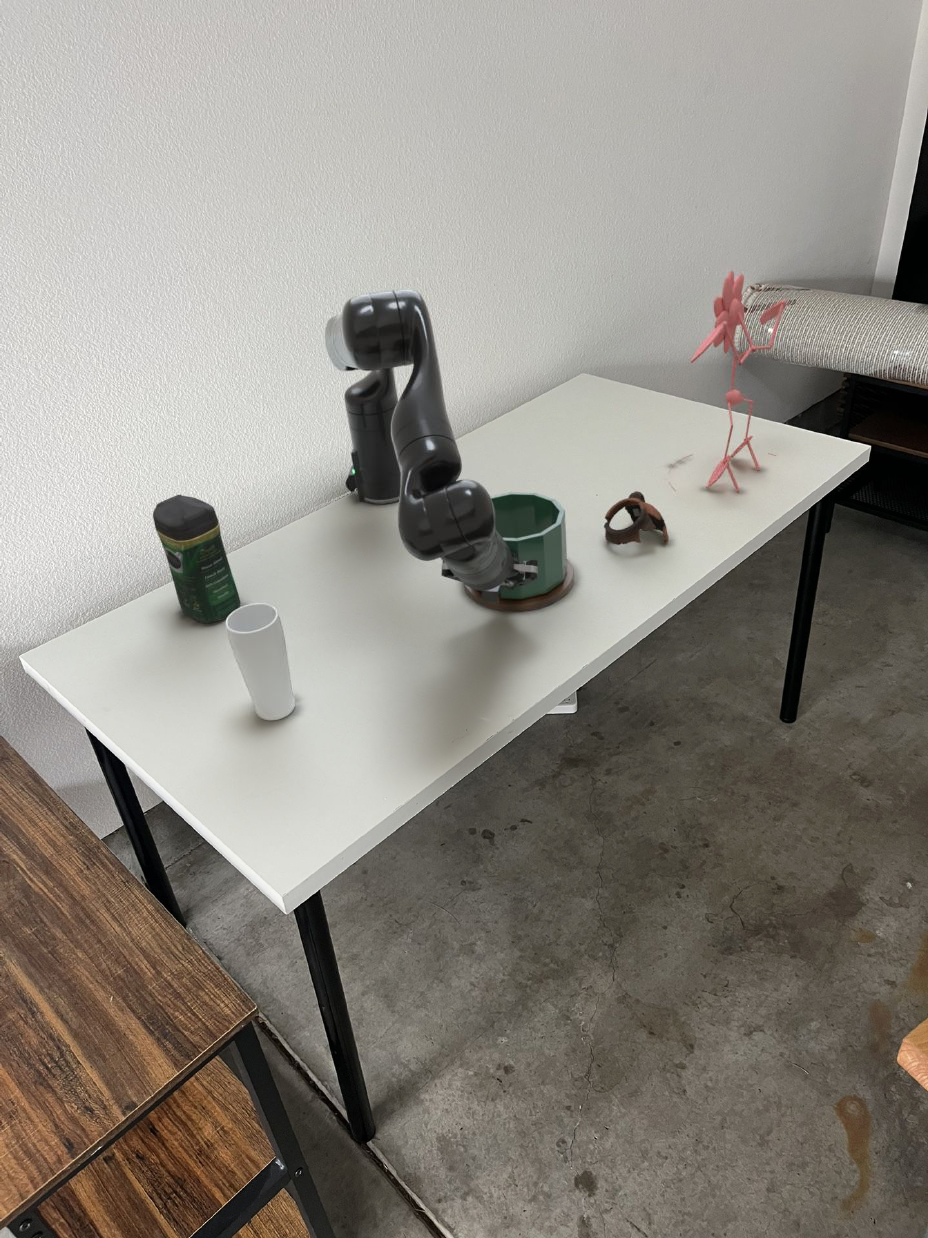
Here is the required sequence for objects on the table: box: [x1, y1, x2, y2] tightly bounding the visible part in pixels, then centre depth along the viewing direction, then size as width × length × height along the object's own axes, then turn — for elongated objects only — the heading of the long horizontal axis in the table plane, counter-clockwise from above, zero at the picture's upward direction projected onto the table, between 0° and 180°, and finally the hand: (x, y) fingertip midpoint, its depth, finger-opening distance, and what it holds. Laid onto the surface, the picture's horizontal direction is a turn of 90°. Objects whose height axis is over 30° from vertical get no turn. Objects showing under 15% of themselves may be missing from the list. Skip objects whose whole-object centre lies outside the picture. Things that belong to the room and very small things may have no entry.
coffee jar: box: [152, 494, 242, 624], centre depth 144 cm, size 10×8×19 cm
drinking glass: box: [224, 602, 296, 721], centre depth 123 cm, size 7×7×15 cm
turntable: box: [463, 558, 575, 613], centre depth 147 cm, size 17×17×1 cm
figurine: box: [665, 270, 787, 492], centre depth 161 cm, size 15×26×35 cm, turn 144°
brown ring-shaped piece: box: [603, 490, 669, 546], centre depth 154 cm, size 12×10×8 cm
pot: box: [479, 491, 568, 603], centre depth 140 cm, size 25×15×10 cm, turn 166°
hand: (501, 582), depth 136 cm, fingers closed on pot, 2 cm apart
